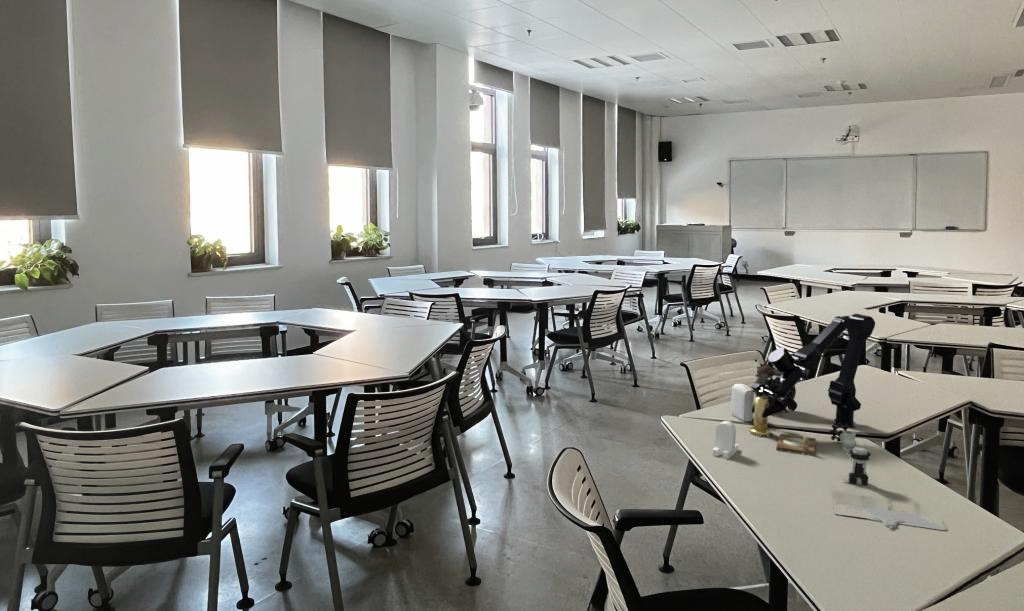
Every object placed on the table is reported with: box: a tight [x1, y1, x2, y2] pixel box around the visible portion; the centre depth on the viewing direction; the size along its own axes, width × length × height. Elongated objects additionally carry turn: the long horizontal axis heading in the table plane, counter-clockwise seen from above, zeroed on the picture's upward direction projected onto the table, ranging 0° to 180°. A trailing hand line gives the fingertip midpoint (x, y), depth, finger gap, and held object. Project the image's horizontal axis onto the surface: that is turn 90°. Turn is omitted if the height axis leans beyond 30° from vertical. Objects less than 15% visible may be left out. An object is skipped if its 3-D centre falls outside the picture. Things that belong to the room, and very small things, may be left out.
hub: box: [748, 395, 772, 437], centre depth 242 cm, size 9×7×12 cm
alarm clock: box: [754, 358, 797, 413], centre depth 265 cm, size 15×7×20 cm, turn 80°
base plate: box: [775, 433, 816, 456], centre depth 229 cm, size 14×11×5 cm
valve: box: [828, 423, 857, 455], centre depth 227 cm, size 7×7×12 cm
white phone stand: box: [711, 420, 739, 460], centre depth 223 cm, size 5×10×10 cm, turn 145°
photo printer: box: [730, 383, 755, 422], centre depth 258 cm, size 10×4×12 cm, turn 12°
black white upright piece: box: [842, 446, 872, 486], centre depth 199 cm, size 7×5×10 cm
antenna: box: [845, 505, 947, 531], centre depth 183 cm, size 25×24×1 cm
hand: (757, 414), depth 240 cm, fingers open, 5 cm apart
